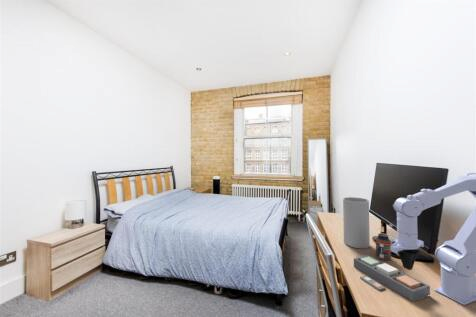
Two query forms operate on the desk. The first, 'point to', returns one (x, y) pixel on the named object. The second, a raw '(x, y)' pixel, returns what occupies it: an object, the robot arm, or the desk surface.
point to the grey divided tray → (393, 280)
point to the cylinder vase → (356, 222)
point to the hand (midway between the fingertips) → (407, 268)
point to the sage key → (369, 261)
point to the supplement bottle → (383, 247)
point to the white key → (387, 269)
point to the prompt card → (372, 283)
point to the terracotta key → (408, 282)
